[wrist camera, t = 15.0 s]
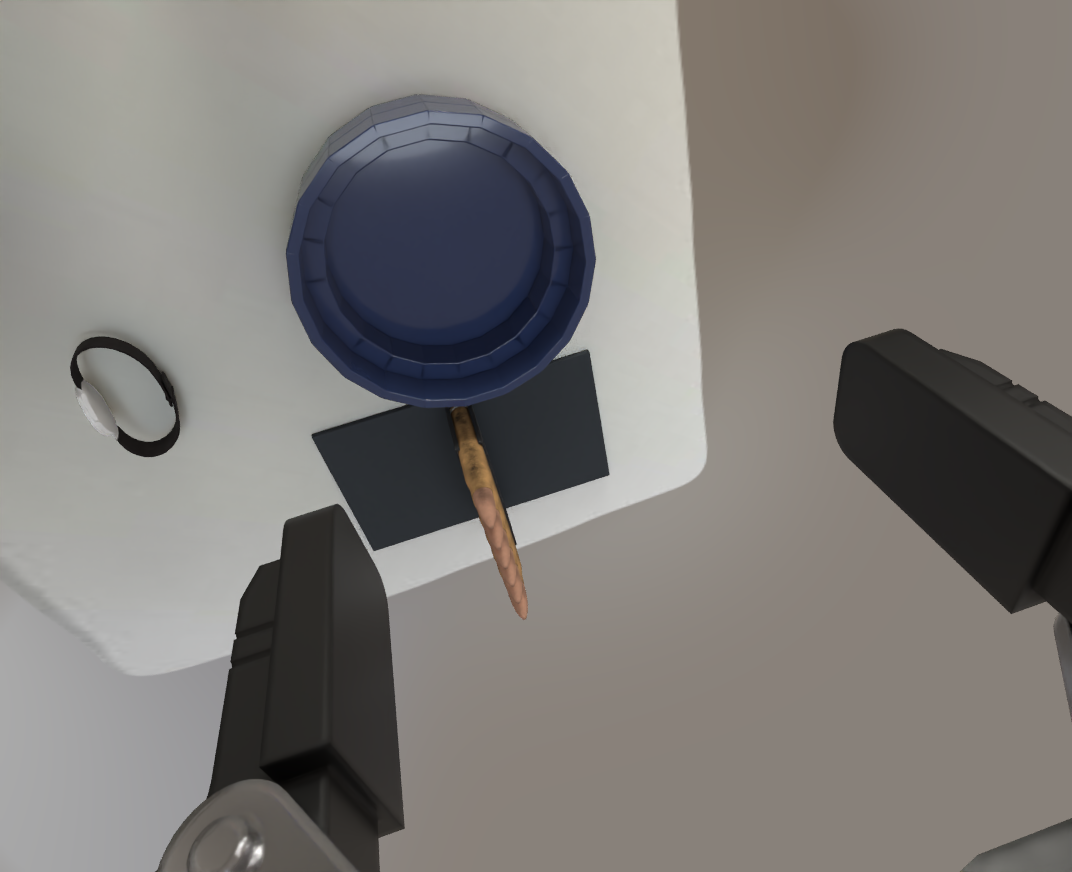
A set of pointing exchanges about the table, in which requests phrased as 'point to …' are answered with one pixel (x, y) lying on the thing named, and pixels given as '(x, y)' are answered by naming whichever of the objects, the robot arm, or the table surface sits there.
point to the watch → (101, 412)
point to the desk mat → (432, 464)
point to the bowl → (438, 252)
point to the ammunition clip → (488, 500)
